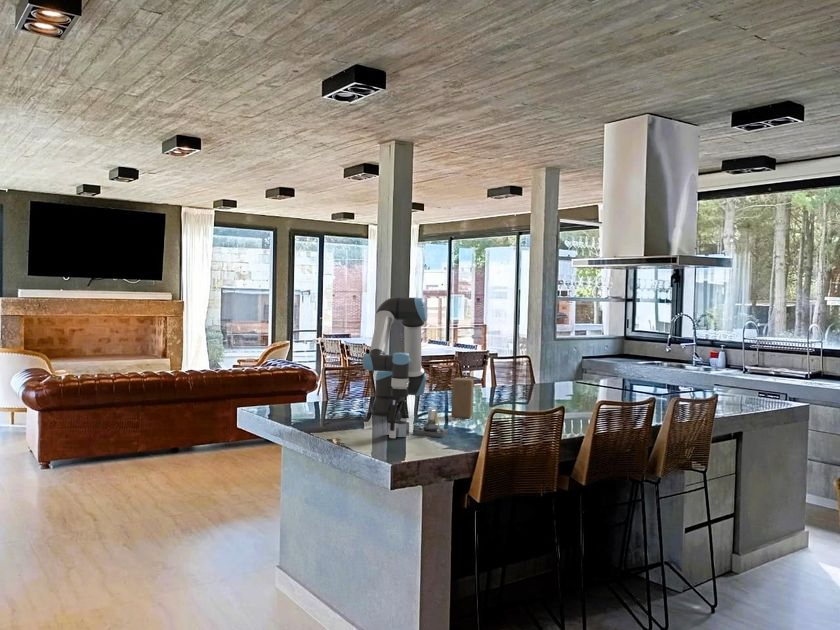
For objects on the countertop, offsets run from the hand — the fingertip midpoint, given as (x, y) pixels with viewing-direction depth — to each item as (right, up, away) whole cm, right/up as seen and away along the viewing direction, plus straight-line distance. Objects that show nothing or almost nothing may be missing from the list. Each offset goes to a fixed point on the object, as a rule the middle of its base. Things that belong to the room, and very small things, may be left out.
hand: (397, 435), depth 314 cm
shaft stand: (+15, -1, +7) cm, 16 cm away
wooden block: (+32, 0, +58) cm, 66 cm away
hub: (0, 0, 0) cm, 0 cm away
